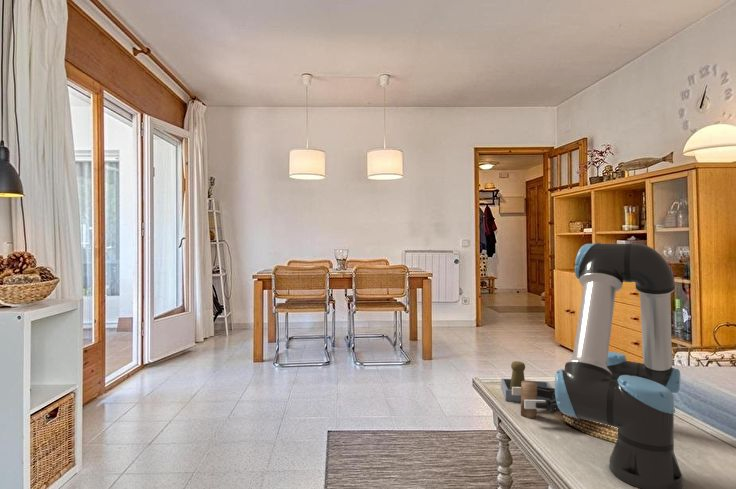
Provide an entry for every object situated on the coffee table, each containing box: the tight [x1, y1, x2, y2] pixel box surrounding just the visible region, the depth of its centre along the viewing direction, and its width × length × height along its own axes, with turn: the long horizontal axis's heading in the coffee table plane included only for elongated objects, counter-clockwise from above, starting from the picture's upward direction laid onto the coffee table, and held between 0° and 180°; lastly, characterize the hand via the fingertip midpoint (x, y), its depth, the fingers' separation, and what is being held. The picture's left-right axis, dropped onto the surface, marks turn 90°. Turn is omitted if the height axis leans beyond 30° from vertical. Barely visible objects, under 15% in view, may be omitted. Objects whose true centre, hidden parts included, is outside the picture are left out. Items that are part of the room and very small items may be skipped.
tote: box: [500, 377, 553, 403], centre depth 161 cm, size 15×18×4 cm
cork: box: [510, 360, 526, 390], centre depth 165 cm, size 6×6×11 cm
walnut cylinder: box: [520, 379, 538, 419], centre depth 142 cm, size 5×5×11 cm
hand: (518, 397), depth 142 cm, fingers open, 12 cm apart
